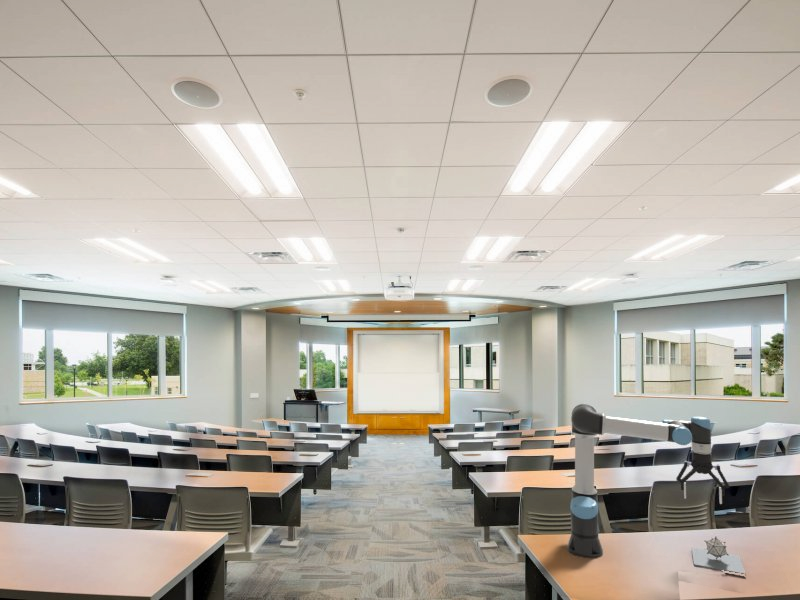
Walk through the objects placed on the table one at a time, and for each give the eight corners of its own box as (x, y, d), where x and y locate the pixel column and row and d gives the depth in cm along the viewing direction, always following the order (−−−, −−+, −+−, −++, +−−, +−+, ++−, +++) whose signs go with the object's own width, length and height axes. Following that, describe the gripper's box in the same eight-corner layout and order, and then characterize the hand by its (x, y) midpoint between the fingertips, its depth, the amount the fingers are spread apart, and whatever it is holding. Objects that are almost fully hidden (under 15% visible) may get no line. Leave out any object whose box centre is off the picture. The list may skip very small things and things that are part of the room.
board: (694, 567, 211) (694, 564, 211) (691, 550, 227) (691, 547, 227) (745, 577, 203) (745, 573, 203) (739, 558, 219) (739, 555, 219)
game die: (732, 565, 210) (731, 541, 210) (710, 563, 211) (709, 539, 212) (723, 555, 218) (722, 532, 219) (701, 554, 220) (701, 531, 220)
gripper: (669, 450, 226) (670, 498, 225) (735, 457, 214) (737, 508, 213) (669, 446, 233) (670, 493, 232) (734, 453, 221) (735, 502, 220)
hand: (702, 500), depth 222 cm, fingers open, 13 cm apart
